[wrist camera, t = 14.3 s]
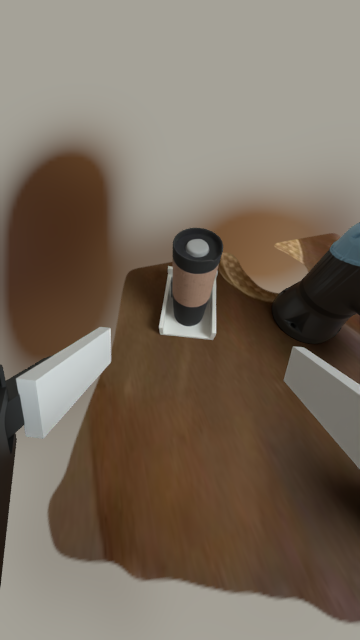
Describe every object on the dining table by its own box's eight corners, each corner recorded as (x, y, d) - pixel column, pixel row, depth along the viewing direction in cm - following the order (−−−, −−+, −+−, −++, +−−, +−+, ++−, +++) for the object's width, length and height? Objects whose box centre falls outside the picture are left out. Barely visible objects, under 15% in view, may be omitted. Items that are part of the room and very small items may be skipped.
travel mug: (171, 301, 46) (170, 227, 28) (201, 300, 46) (219, 226, 29) (173, 328, 42) (173, 262, 24) (206, 326, 42) (228, 261, 25)
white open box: (213, 285, 49) (217, 270, 44) (212, 339, 42) (218, 329, 37) (168, 281, 50) (168, 266, 45) (160, 334, 42) (158, 323, 37)
